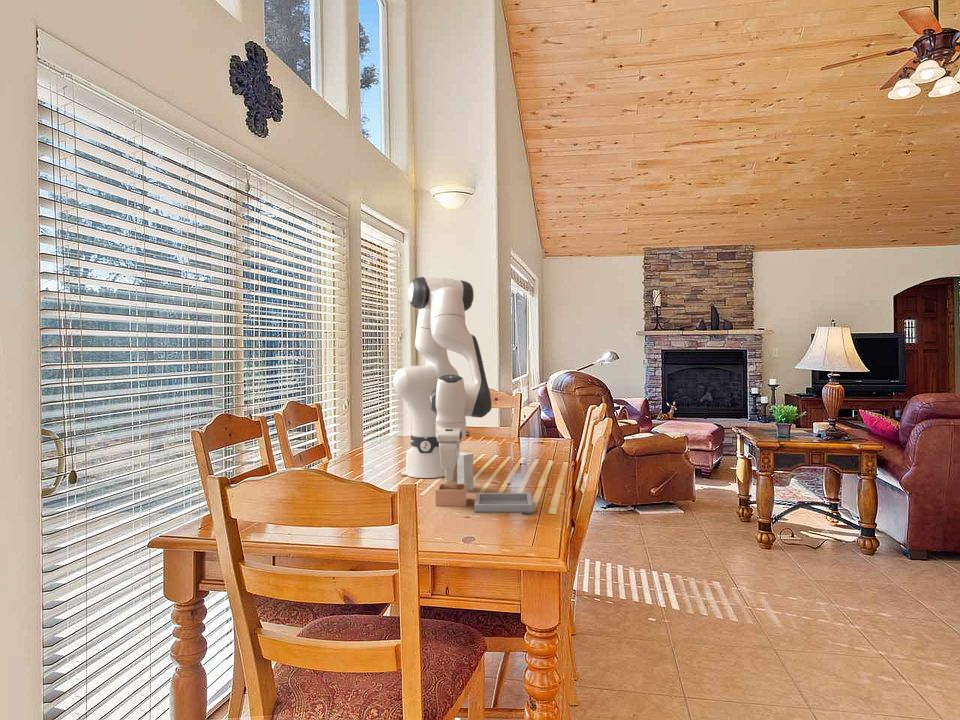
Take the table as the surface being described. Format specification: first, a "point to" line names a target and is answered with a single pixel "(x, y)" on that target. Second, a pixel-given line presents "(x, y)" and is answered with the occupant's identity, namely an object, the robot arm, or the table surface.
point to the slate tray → (503, 503)
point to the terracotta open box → (451, 496)
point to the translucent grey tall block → (451, 484)
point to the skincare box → (465, 470)
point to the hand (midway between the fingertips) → (451, 478)
